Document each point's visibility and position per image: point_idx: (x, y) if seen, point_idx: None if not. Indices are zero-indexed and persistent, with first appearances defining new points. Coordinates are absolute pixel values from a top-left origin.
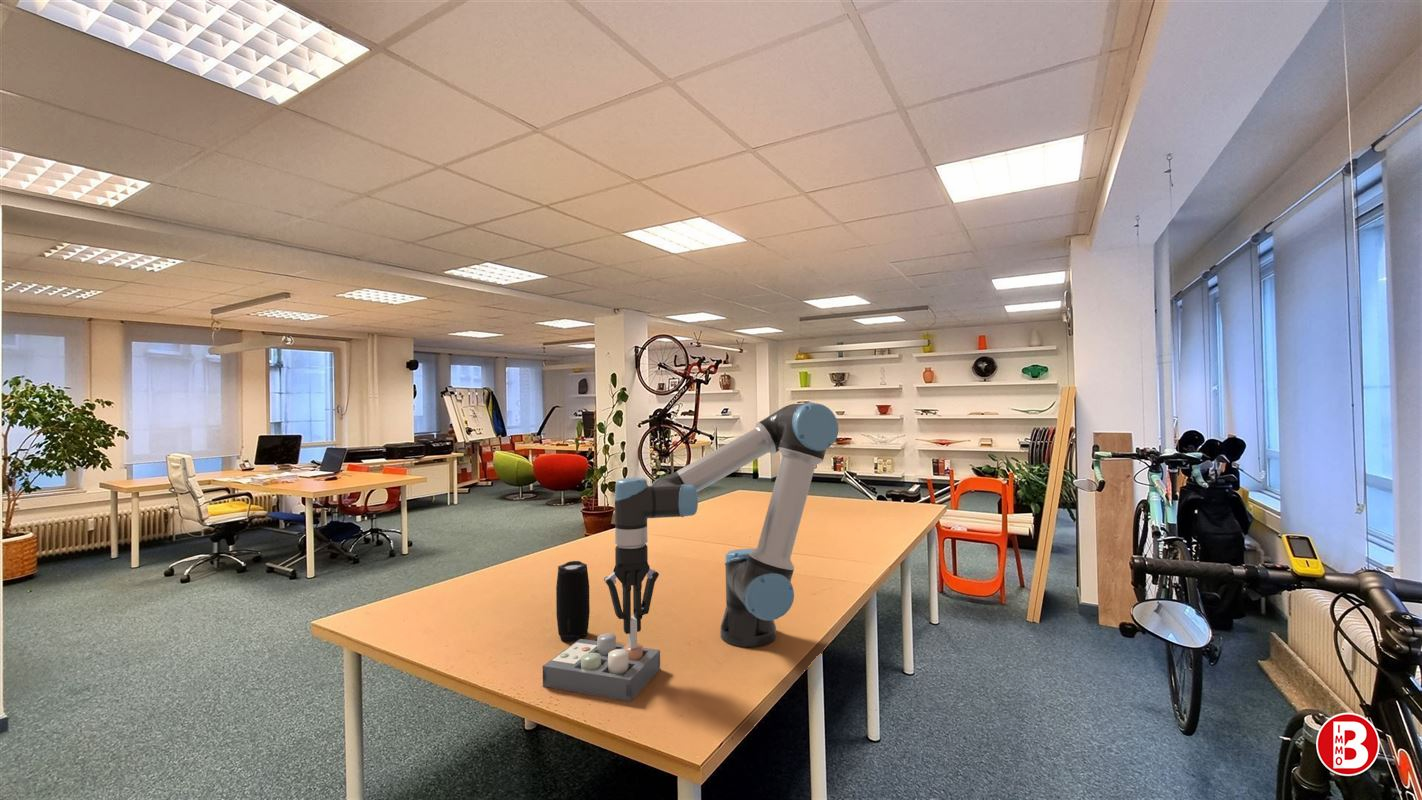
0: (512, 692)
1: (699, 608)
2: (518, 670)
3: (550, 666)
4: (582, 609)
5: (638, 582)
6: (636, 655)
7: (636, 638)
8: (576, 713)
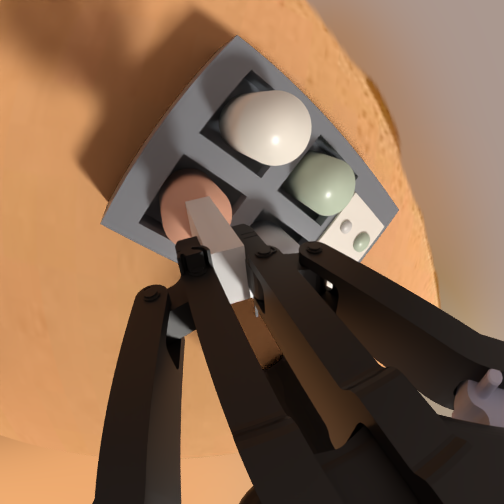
0: (405, 191)
1: (60, 427)
2: (383, 262)
3: (390, 201)
4: (299, 401)
5: (304, 486)
6: (187, 179)
7: (193, 214)
8: (337, 60)
